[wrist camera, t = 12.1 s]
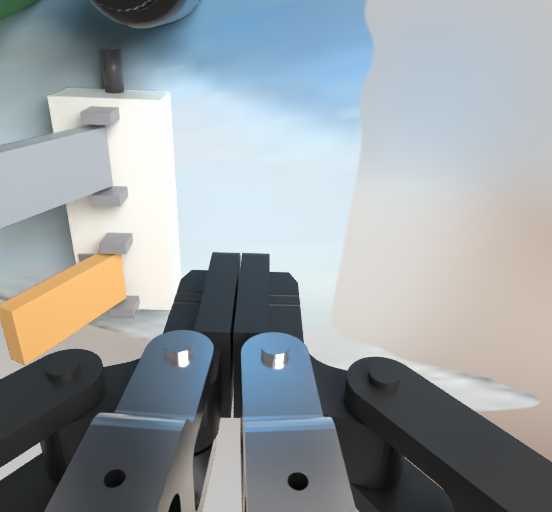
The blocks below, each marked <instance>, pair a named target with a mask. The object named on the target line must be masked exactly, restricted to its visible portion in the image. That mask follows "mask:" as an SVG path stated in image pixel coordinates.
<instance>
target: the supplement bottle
mask: <svg viewBox="0 0 552 512" xmlns="http://www.w3.org/2000/svg"><path fill="white" fill-rule="evenodd" d="M89 1H90V2H91V3H92V4H93V5H94V6H95V7H96V8H97V9H98V10H99V11H100V12H101V13H102V14H103V15H105V16H106V17H108V18H109V19H111V20H112V21H114V22H116V23H119V24H121V25H124V26H127V27H132V28H152V27H156V26H160V25H163V24H167V23H170V22H174V21H176V20H179V19H181V18H183V17H185V16H186V15H188V14H189V13H190V12H191V11H192V10H193V9H194V8H195V7H196V6H197V5H198V3H199V1H200V0H89Z"/></svg>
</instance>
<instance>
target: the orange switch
mask: <svg viewBox="0 0 552 512" xmlns="http://www.w3.org/2000/svg"><path fill="white" fill-rule="evenodd" d="M126 298H127V297H126V288H125V280H124V272H123V264H122V255H121V254H100V252H98V253H97V254H95V255H93V256H91V257H89V258H87V259H85V260H83V261H81V262H79V263H77V264H76V265H74V266H72V267H70V268H68V269H66V270H64V271H62V272H60V273H58V274H57V275H55V276H53V277H51V278H49V279H47V280H45V281H43V282H41V283H39V284H37V285H36V286H34V287H32V288H30V289H28V290H26V291H24V292H22V293H20V294H18V295H17V296H15V297H13V298H11V299H9V300H7V301H5V302H3V303H2V304H0V319H1V323H2V327H3V330H4V334H5V338H6V342H7V346H8V349H9V353H10V356H11V359H12V360H14V361H16V362H19V363H21V364H23V365H27V364H28V363H30V362H31V361H33V360H34V359H36V358H37V357H38V356H40V355H42V354H43V353H45V352H46V351H48V350H49V349H51V348H52V347H54V346H55V345H56V344H58V343H60V342H61V341H63V340H64V339H65V338H67V337H69V336H70V335H72V334H73V333H75V332H76V331H78V330H79V329H81V328H82V327H83V326H85V325H87V324H88V323H90V322H91V321H93V320H94V319H96V318H97V317H99V316H100V315H102V314H103V313H105V312H106V311H108V310H109V309H111V308H112V307H114V306H115V305H117V304H118V303H120V302H121V301H123V300H124V299H126Z"/></svg>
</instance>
